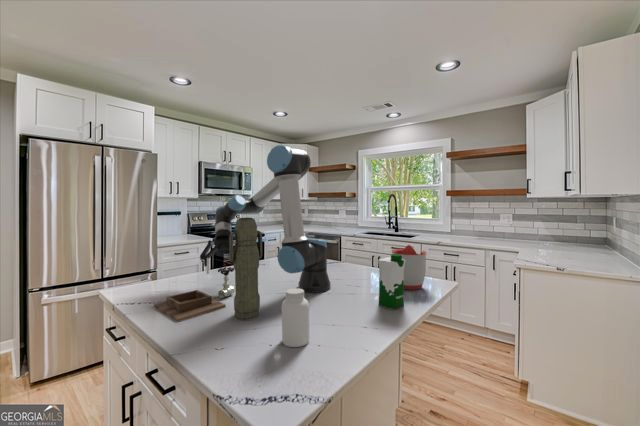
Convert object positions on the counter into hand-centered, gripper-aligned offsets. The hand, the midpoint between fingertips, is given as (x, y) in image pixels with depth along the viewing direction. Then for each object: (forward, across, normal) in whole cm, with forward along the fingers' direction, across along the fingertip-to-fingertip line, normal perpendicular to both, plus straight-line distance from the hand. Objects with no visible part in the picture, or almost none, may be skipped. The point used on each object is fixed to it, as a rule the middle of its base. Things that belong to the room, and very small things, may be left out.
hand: (224, 270), depth 130 cm
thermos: (+28, -8, +14) cm, 32 cm away
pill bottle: (+45, -20, +31) cm, 58 cm away
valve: (+11, -1, -3) cm, 11 cm away
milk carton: (+33, -62, +19) cm, 73 cm away
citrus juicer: (+20, -84, +6) cm, 86 cm away
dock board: (+16, +13, +3) cm, 21 cm away
